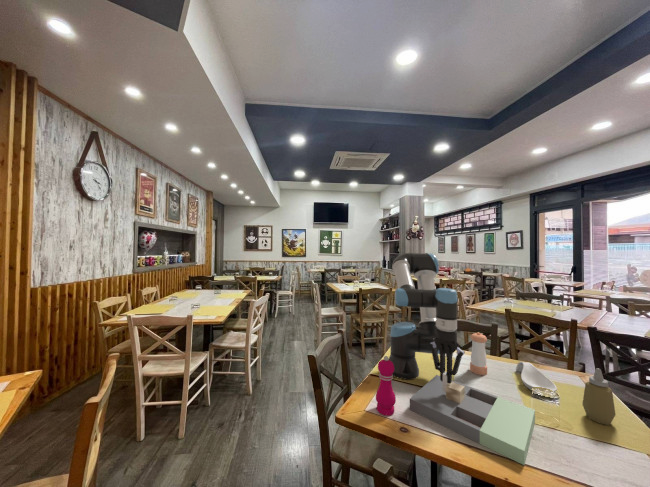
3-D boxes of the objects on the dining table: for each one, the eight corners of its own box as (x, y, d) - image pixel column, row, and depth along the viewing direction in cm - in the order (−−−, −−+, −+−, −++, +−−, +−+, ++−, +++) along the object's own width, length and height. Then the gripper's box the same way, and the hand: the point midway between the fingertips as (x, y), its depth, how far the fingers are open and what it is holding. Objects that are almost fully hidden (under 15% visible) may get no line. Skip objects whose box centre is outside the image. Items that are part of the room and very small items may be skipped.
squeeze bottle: (577, 415, 93) (577, 366, 93) (588, 410, 96) (588, 362, 96) (609, 430, 85) (609, 376, 86) (620, 423, 88) (620, 372, 89)
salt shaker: (467, 367, 129) (467, 329, 130) (482, 368, 128) (483, 330, 129) (473, 374, 122) (474, 334, 122) (490, 375, 121) (490, 335, 121)
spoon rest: (563, 401, 102) (563, 383, 102) (528, 395, 105) (528, 378, 105) (534, 373, 124) (534, 359, 124) (506, 370, 128) (506, 355, 128)
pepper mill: (382, 401, 99) (383, 350, 99) (399, 410, 94) (399, 356, 94) (371, 410, 94) (372, 355, 94) (388, 419, 89) (389, 362, 89)
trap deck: (409, 409, 95) (409, 398, 95) (436, 383, 113) (436, 374, 113) (524, 465, 71) (524, 451, 71) (535, 421, 89) (535, 409, 89)
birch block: (445, 397, 96) (445, 386, 96) (450, 392, 99) (450, 381, 99) (460, 403, 92) (460, 391, 92) (464, 398, 95) (464, 386, 96)
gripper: (425, 326, 100) (425, 387, 100) (461, 335, 91) (460, 401, 90) (433, 323, 106) (433, 380, 105) (467, 330, 96) (467, 393, 96)
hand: (445, 390), depth 98 cm, fingers closed
